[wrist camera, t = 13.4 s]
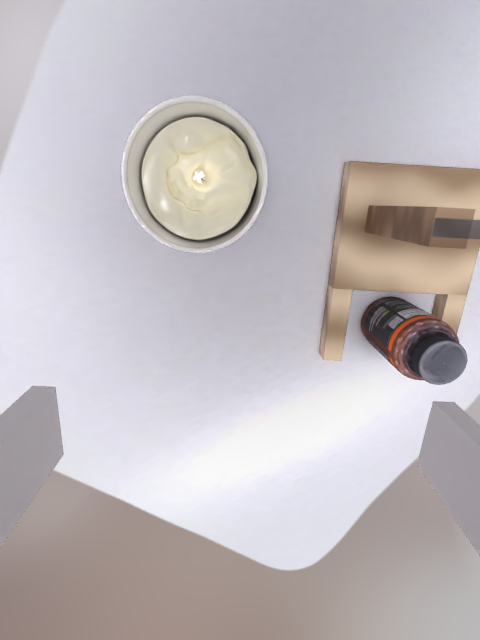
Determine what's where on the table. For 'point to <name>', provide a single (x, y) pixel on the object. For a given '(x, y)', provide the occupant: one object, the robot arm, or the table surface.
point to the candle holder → (194, 174)
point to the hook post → (424, 225)
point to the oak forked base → (397, 243)
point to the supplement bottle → (414, 341)
